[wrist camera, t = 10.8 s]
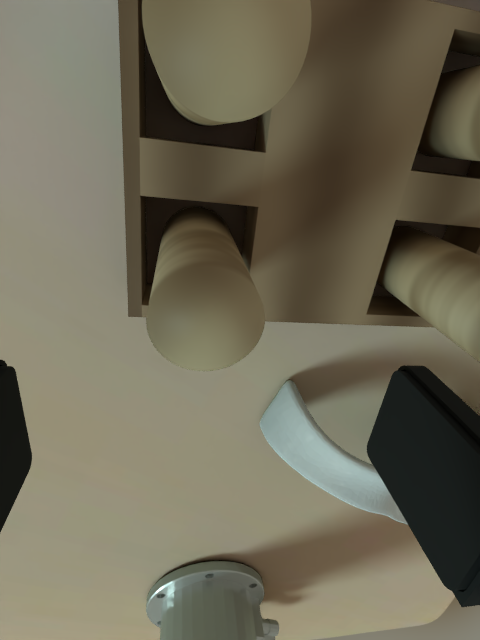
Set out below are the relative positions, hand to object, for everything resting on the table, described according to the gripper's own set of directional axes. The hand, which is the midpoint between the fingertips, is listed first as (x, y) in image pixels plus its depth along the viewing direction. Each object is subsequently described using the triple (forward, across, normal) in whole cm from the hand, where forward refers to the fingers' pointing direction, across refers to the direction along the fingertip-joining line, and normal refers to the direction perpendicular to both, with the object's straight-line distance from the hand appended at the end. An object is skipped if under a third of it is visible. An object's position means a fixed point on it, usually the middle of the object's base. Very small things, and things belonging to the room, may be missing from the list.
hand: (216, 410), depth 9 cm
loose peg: (+14, 0, -1) cm, 14 cm away
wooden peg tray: (+14, -6, -5) cm, 16 cm away
